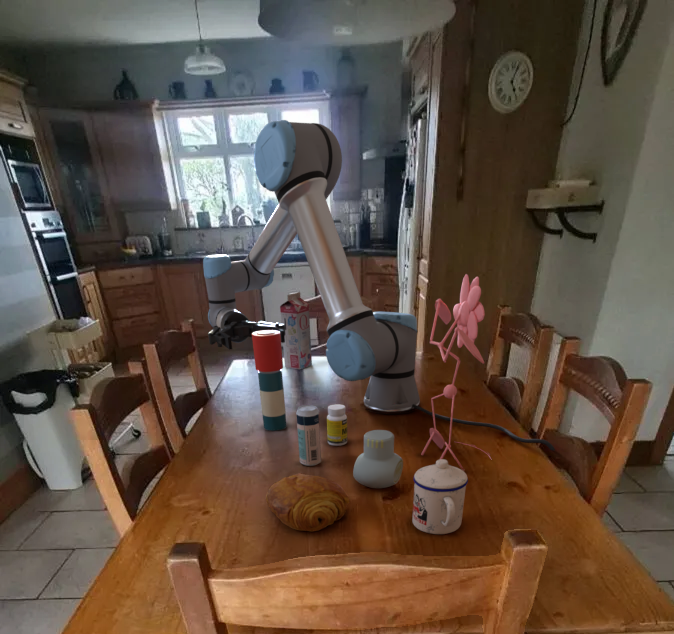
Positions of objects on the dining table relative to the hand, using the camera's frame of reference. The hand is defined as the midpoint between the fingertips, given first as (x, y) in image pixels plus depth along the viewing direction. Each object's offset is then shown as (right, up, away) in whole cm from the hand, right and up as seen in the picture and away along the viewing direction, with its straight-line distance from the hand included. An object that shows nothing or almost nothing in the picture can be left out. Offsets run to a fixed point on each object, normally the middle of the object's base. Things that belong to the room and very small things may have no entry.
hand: (257, 340), depth 134 cm
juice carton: (+6, +16, +53) cm, 56 cm away
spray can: (+4, -19, +6) cm, 21 cm away
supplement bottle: (+20, -27, -4) cm, 33 cm away
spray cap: (+3, -8, -3) cm, 9 cm away
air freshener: (+28, -40, -22) cm, 54 cm away
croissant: (+14, -48, -32) cm, 60 cm away
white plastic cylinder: (+14, -34, -13) cm, 39 cm away
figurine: (+46, -34, -15) cm, 59 cm away
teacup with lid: (+38, -51, -38) cm, 74 cm away
